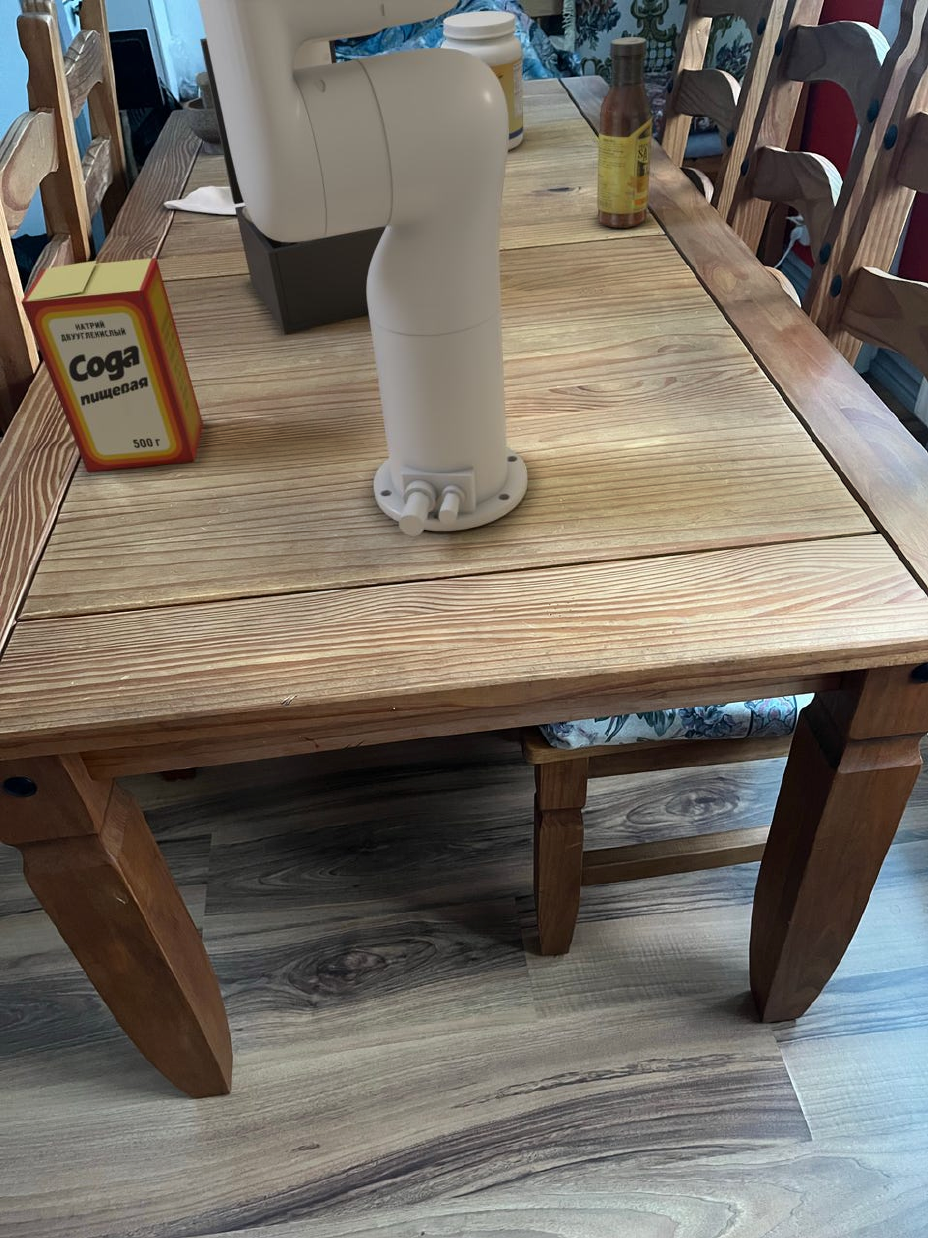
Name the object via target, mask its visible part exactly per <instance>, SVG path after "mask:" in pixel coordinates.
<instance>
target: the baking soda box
mask: <svg viewBox="0 0 928 1238" xmlns="http://www.w3.org/2000/svg"><path fill="white" fill-rule="evenodd" d="M21 306H22V308H23V311H24V314H25V316H26V318H27V321H28V323H29V326H30V329H31V331H32V334H33V337H34V339H35V341H36V344H37V346H38V349H39V352H40V354H41V357H42V360H43V362H44V364H45V365H44V366H45V367H46V370H47V372H48V375H49V377H50V380H51V382H52V385H53V387H54V390H55V393H56V395H57V398H58V401H59V403H60V406H61V408H62V411H63V413H64V416H65V418H66V419H65V420H66V421H67V424H68V426H69V429H70V432H71V434H72V437H73V438H74V442H75V444H76V446H77V447H76V448H77V450H78V452H79V455H80V457H81V460H82V463H83V465H84V467H85V471H86V473H90V472H100V471H110V470H117V469H118V470H119V469H120V470H121V469H129V468H140V467H148V466H149V467H150V466H161V465H168V464H169V465H170V464H179V463H190V462H195V460H196V455H197V450H198V446H199V442H200V439H201V434H202V430H203V426H204V422H203V421H204V420H203V418H202V414H201V411H200V408H199V404H198V401H197V397H196V393H195V389H194V386H193V383H192V379H191V376H190V375H191V374H190V373H189V369H188V364H187V361H186V358H185V353H184V350H183V347H182V343H181V340H180V337H179V333H178V330H177V326H176V322H175V318H174V315H173V311H172V309H171V305H170V302H169V297H168V294H167V291H166V286H165V284H164V279H163V276H162V272H161V270H160V266H159V262H158V259H157V257H152V258H143V259H131V260H120V261H111V262H100V263H97V260H92V261H86V262H79V263H73V264H67V265H60V266H53V267H46V268H42V269H40V272H39V273H38V275H37V276H36V278H35V279H34V281H33V282H32V284H31V286H30V287H29V289H28V290H27V292H26V294H25V295H24V297H23V298H22V299H21Z"/></svg>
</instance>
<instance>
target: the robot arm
mask: <svg viewBox="0 0 928 1238" xmlns="http://www.w3.org/2000/svg"><path fill="white" fill-rule="evenodd" d="M460 1H461V0H197V2H198V6H199V10H200V15H201V20H202V24H203V30H204V33H205V38H206V39H207V44H208V48H209V53H210V58H211V62H212V67H213V72H214V76H215V81H216V86H217V90H218V95H219V100H220V104H221V109H222V114H223V118H224V123H225V128H226V133H227V137H228V142H229V147H230V152H231V156H232V160H233V164H234V169H235V173H236V177H237V181H238V185H239V188H240V192H241V195H242V198H243V201H244V203H245V206H244V207H243V209H242V213H243V215H244V216H245V218H246V219H247V220H249V221H250V222H252V223H253V224H255V225H256V227H257V228H258V229H259V230H260V231H261V232H262V233H263V234H264V235H266V236H267V237H269V238H271V239H273V240H277V241H280V243H281V247H285V246H289V245H294V244H297V243H296V242H300V241H308V240H313V239H319V238H326V237H331V236H336V235H341V234H346V233H351V232H356V231H362V230H367V229H372V228H377V227H386V228H385V231H384V233H383V235H382V237H381V239H380V241H379V243H378V245H377V248H376V250H375V252H374V255H373V258H372V261H371V264H370V267H369V272H368V277H367V288H366V292H367V304H368V311H369V314H368V317H369V318H368V319H369V325H370V333H371V339H372V346H373V353H374V362H375V369H376V375H377V382H378V383H377V384H378V389H379V396H380V404H381V413H382V418H383V425H384V432H385V439H386V446H387V454H388V458H386V459H385V460H384V461H383V462H382V463H381V465H379V467H378V469H377V470H376V472H375V475H374V477H373V491H374V497H375V501H376V503H377V505H378V507H379V508H380V510H382V512H383V513H384V514H385V515H386V516H388V517H389V518H391V519H392V520H394V521H395V522H398V528H399V530H400V531H401V533H403V534H405V535H407V536H409V537H410V536H411V537H415V536H419V535H421V534H422V533H423V532H424V530H425V531H430V532H431V531H432V532H454V531H464V530H469V529H472V528H473V529H474V528H477V527H481V526H483V525H487V524H490V523H492V522H495V521H497V520H498V519H500V518H502V517H504V516H505V515H507V514H508V513H510V512H511V511H512V510H514V509H515V508H516V507H517V506H518V505H519V504H520V502H521V501H522V500H523V498H524V496H525V495H526V493H527V489H528V470H527V469H528V468H527V467H526V463H525V461H524V460H523V459H522V458H521V456H520V455H519V454H518V453H517V452H515V451H514V450H513V449H512V448H510V447H508V442H507V440H508V439H507V416H506V397H505V396H506V393H505V373H504V372H505V371H504V349H503V326H502V325H503V324H502V293H501V270H500V269H501V268H500V267H501V266H500V265H501V263H500V261H501V260H500V259H501V258H500V257H501V256H500V244H501V243H500V241H501V239H500V238H501V236H500V233H501V215H502V202H503V195H504V194H503V192H504V186H505V178H506V170H507V162H508V155H509V154H508V153H509V150H508V143H509V119H508V109H507V103H506V99H505V95H504V92H503V89H502V87H501V84H500V82H499V80H498V78H497V77H496V75H495V74H494V72H493V71H492V70H491V68H490V67H489V66H488V65H487V64H485V63H484V62H483V61H481V60H480V59H479V58H477V57H475V56H473V55H471V54H469V53H466V52H463V51H460V50H456V49H447V48H440V47H426V48H415V49H408V50H402V51H395V52H388V53H382V54H376V55H368V56H363V57H357V58H353V59H352V60H345V61H339V62H337V63H332V60H331V53H330V46H329V41H331V40H334V41H337V40H343V39H350V38H351V39H352V38H357V37H363V36H369V35H374V34H376V33H378V32H380V31H382V30H383V29H389V28H395V27H399V26H400V27H401V26H406V25H411V24H416V23H421V22H424V21H428V20H432V19H435V18H437V17H439V16H442V15H443V14H446V13H447V12H450V11H451V10H452V9H454V8H455V7H456V6H457V5H458V3H459V2H460Z"/></svg>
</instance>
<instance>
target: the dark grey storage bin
mask: <svg viewBox="0 0 928 1238" xmlns="http://www.w3.org/2000/svg"><path fill="white" fill-rule="evenodd" d="M243 207H244V206H240V207H236V208H235V210H236V219H237V224H238V228H239V233H240V238H241V241H242V242H241V243H242V246H243V251H244V256H245V260H246V264H247V269H248V273H249V278H250V282H251V285H252V286H253V288H254V289H255V290H256V293H257V294H258V295H259V297H260V298H261V300H262V302H263V303H264V305H265V306H266V308H267V309H268V311H269V312H270V314H271V315H272V317H273V319H274V320H275V322H276V323H277V325H278V326H279V328H280V330H281V331H282V333H283V334H284V335H287V334H291V333H296V332H300V331H304V330H308V329H312V328H316V327H317V328H318V327H321V326H325V325H330V324H335V323H339V322H343V321H346V320H351V319H354V318H359V317H363V316H368V315H369V311H368V304H367V292H366V288H367V277H368V272H369V267H370V264H371V261H372V258H373V255H374V252H375V250H376V248H377V245H378V243H379V241H380V239H381V237H382V235H383V233H384V231H385V228H386V227H377V228H372V229H367V230H362V231H356V232H351V233H346V234H341V235H336V236H331V237H327V238H322V239H317V240H313V241H308V242H303V243H299V244H294V245H289V246H285V247H281V243H280V241H277V240H273V239H271V238H269V237H267V236H266V235H264V234H263V233H262V232H261V231H260V230H259V229H258V228H257V227H256V225H255V224H253V223H252V222H250V221H249V220H247V219H246V218H245V216H244V215H243V213H242V209H243Z"/></svg>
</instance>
